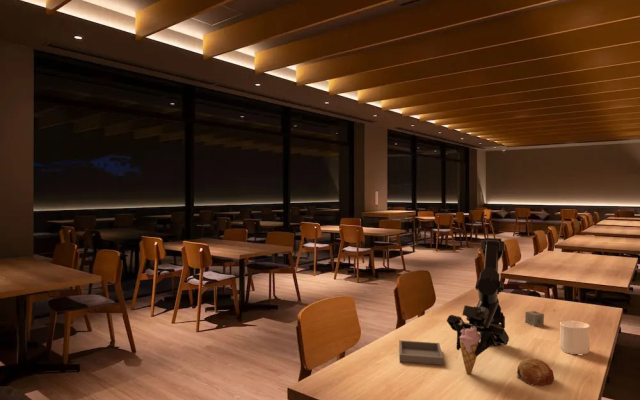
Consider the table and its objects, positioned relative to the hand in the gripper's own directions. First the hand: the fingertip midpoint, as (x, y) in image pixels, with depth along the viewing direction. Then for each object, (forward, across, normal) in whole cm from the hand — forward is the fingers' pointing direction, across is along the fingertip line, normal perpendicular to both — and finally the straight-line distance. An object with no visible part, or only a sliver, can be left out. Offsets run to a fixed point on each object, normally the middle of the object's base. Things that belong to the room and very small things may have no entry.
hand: (466, 352), depth 133 cm
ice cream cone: (+4, 0, +6) cm, 7 cm away
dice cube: (-44, -8, +55) cm, 71 cm away
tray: (+4, -18, +6) cm, 20 cm away
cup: (-29, +14, +40) cm, 51 cm away
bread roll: (-4, +15, +15) cm, 22 cm away
